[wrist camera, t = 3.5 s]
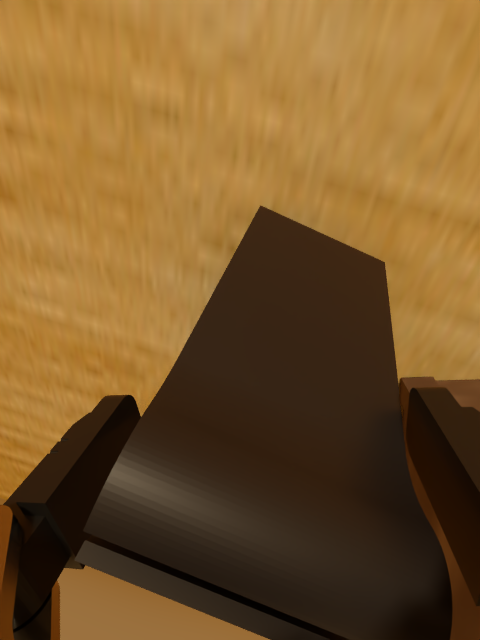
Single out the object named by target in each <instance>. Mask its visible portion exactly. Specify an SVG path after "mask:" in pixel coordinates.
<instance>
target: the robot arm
mask: <svg viewBox="0 0 480 640" xmlns="http://www.w3.org/2000/svg"><path fill="white" fill-rule="evenodd" d="M140 418H141V416H140V413H139V410H138V407H137V404H136V401H135V399H134V397H133V396H131V395H110V396H105V397H104V398H103V399H102V400H101V401H100V402H99V403H98V405H97V406H96V407H95V408H94V409H93V411H92V412H91V413H88V414H87V415H85V416H84V417H83V418H81V419H80V420H79V421H77V422H76V423H75V424H73V425H72V426H71V428H70V429H69V430H68V431H67V432H66V433H65V434H64V436H63V437H62V438H61V441H60V442H57V444H56V445H55V446H54V447H53V448H52V449H51V452H50V454H47V455H46V456H45V457H44V459H43V460H42V461H41V462H40V463H39V464H38V465H37V467H36V468H35V469H34V470H33V471H32V472H31V473H30V475H29V476H28V477H27V478H26V479H25V480H24V481H23V483H22V484H21V485H20V486H19V487H18V488H17V489H16V491H15V492H14V493H13V494H12V495H11V496H10V497H9V499H8V500H7V501H6V502H5V503H4V504H3V505H0V640H60V586H59V583H58V581H57V579H58V577H59V576H60V574H61V572H62V570H63V569H64V568H73V569H83V568H84V567H85V565H84V564H82V563H79V562H77V561H74V560H75V558H76V556H77V554H78V552H79V550H80V549H81V547H82V545H83V543H84V541H85V540H88V539H89V538H90V536H91V534H89V533H86V532H84V531H83V530H84V528H85V525H86V523H87V521H88V518H89V516H90V514H91V512H92V510H93V507H94V505H95V503H96V501H97V499H98V497H99V495H100V493H101V491H102V489H103V486H104V484H105V482H106V480H107V478H108V476H109V475H110V473H111V471H112V469H113V467H114V465H115V463H116V461H117V459H118V457H119V455H120V453H121V452H122V450H123V448H124V446H125V444H126V443H127V441H128V439H129V437H130V435H131V434H132V432H133V430H134V428H135V427H136V425H137V423H138V422H139V420H140ZM406 442H407V447H408V451H409V455H410V457H411V460H412V462H413V464H414V466H415V469H416V471H417V473H418V475H419V478H420V480H421V482H422V484H423V487H424V489H425V491H426V494H427V496H428V498H429V500H430V503H431V505H432V507H433V509H434V512H435V514H436V516H437V518H438V521H439V523H440V525H441V528H442V530H443V532H444V534H445V537H446V539H447V541H448V543H449V546H450V548H451V550H452V552H453V555H454V557H455V559H456V562H457V564H458V566H459V568H460V571H461V573H462V575H463V577H464V580H465V582H466V584H467V587H468V589H469V591H470V593H471V596H472V598H473V600H474V602H475V605H476V606H480V412H479V411H478V410H476V409H475V408H473V407H461V406H460V405H459V403H458V402H457V401H456V399H455V398H454V397H453V395H452V394H451V393H450V391H449V390H448V389H447V388H445V387H418V388H412V389H411V390H410V393H409V403H408V414H407V424H406Z"/></svg>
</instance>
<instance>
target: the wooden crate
mask: <svg viewBox="0 0 480 640" xmlns="http://www.w3.org/2000/svg"><path fill="white" fill-rule="evenodd" d="M418 387H445V388H447V389H448V390H449V391H450V393H451V394H452V395H453V397H454V398H455V399H456V401H457V402H458V403H459V405H460V406H461V407H473V408H475V409H476V410H478V411H479V412H480V380H447V381H435V379H434V378H433V377H412V378H401V387H400V403H401V405H402V407H403V409H404V412H403V432H404V441H405V450H406V458H407V464H408V469H409V473H410V478H411V481H412V485H413V488H414V490H415V493H416V496H417V498H418V501H419V503H420V505H421V508H422V510H423V512H424V514H425V516H426V518H427V519H428V521H429V523H430V525H431V526H432V528H433V530H434V532H435V534H436V535H437V538H438V540H439V542H440V545H441V547H442V550H443V553H444V556H445V559H446V563H447V567H448V571H449V576H450V582H451V590H452V607H453V612H452V628H451V636H450V640H480V606H476V605H475V602H474V600H473V598H472V596H471V593H470V591H469V589H468V587H467V584H466V582H465V580H464V577H463V575H462V573H461V571H460V568H459V566H458V564H457V562H456V559H455V557H454V555H453V552H452V550H451V548H450V546H449V543H448V541H447V539H446V537H445V534H444V532H443V530H442V528H441V525H440V523H439V521H438V518H437V516H436V514H435V512H434V509H433V507H432V505H431V503H430V500H429V498H428V496H427V494H426V491H425V489H424V487H423V484H422V482H421V480H420V478H419V475H418V473H417V471H416V469H415V466H414V464H413V462H412V460H411V457H410V455H409V451H408V447H407V442H406V424H407V414H408V403H409V393H410V390H411V389H412V388H418Z"/></svg>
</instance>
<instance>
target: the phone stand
mask: <svg viewBox="0 0 480 640" xmlns="http://www.w3.org/2000/svg"><path fill="white" fill-rule="evenodd" d="M83 531H84V532H86V533H89V534H91V536H90V538H89V539H88V540H85V541H84V543H83V545H82V547H81V549H80V550H79V552H78V554H77V556H76V558H75V560H74V561H77V562H79V563H82V564H84V565H87V566H89V567H92V568H94V569H97V570H99V571H102V572H104V573H107V574H109V575H112V576H114V577H117V578H119V579H122V580H124V581H126V582H129V583H131V584H134V585H136V586H139V587H141V588H144V589H146V590H149V591H151V592H154V593H156V594H159V595H161V596H164V597H166V598H169V599H172V600H174V601H176V602H179V603H181V604H184V605H186V606H188V607H191V608H194V609H196V610H198V611H201V612H204V613H206V614H209V615H211V616H213V617H216V618H218V619H221V620H223V621H226V622H228V623H231V624H233V625H236V626H238V627H241V628H243V629H246V630H248V631H251V632H253V633H256V634H258V635H260V636H263V637H265V638H268V639H270V640H450V636H451V628H452V612H453V607H452V590H451V582H450V576H449V571H448V567H447V563H446V559H445V556H444V553H443V550H442V547H441V545H440V542H439V540H438V538H437V535H436V534H435V532H434V530H433V528H432V526H431V525H430V523H429V521H428V519H427V518H426V516H425V514H424V512H423V510H422V508H421V505H420V503H419V501H418V498H417V496H416V493H415V490H414V488H413V485H412V481H411V478H410V473H409V469H408V464H407V458H406V450H405V441H404V432H403V423H402V414H401V405H400V396H399V387H398V378H397V369H396V360H395V351H394V342H393V333H392V324H391V315H390V306H389V297H388V288H387V279H386V270H385V262H383V261H381V260H379V259H376V258H374V257H372V256H370V255H368V254H366V253H363V252H361V251H359V250H357V249H355V248H352V247H350V246H348V245H346V244H344V243H341V242H339V241H337V240H335V239H333V238H331V237H328V236H326V235H324V234H322V233H320V232H317V231H315V230H313V229H311V228H309V227H307V226H304V225H302V224H300V223H298V222H296V221H293V220H291V219H289V218H287V217H285V216H282V215H280V214H278V213H276V212H274V211H272V210H269V209H267V208H265V207H263V206H260V207H259V209H258V211H257V213H256V215H255V217H254V218H253V220H252V222H251V224H250V226H249V228H248V229H247V231H246V233H245V235H244V237H243V239H242V241H241V242H240V244H239V246H238V248H237V250H236V252H235V253H234V255H233V257H232V259H231V261H230V263H229V265H228V266H227V268H226V270H225V272H224V274H223V276H222V278H221V279H220V281H219V283H218V285H217V287H216V289H215V290H214V292H213V294H212V296H211V298H210V300H209V302H208V303H207V305H206V307H205V309H204V311H203V313H202V314H201V316H200V318H199V320H198V322H197V324H196V326H195V327H194V329H193V331H192V333H191V335H190V337H189V338H188V340H187V342H186V344H185V346H184V348H183V350H182V351H181V353H180V355H179V357H178V359H177V361H176V362H175V364H174V366H173V368H172V369H171V371H170V373H169V375H168V376H167V378H166V380H165V381H164V383H163V385H162V386H161V388H160V390H159V391H158V393H157V394H156V396H155V397H154V399H153V400H152V402H151V403H150V405H149V406H148V408H147V409H146V411H145V412H144V414H143V415H142V417H141V418H140V420H139V422H138V423H137V425H136V427H135V428H134V430H133V432H132V434H131V435H130V437H129V439H128V441H127V443H126V444H125V446H124V448H123V450H122V452H121V453H120V455H119V457H118V459H117V461H116V463H115V465H114V467H113V469H112V471H111V473H110V475H109V476H108V478H107V480H106V482H105V484H104V486H103V489H102V491H101V493H100V495H99V497H98V499H97V501H96V503H95V505H94V507H93V510H92V512H91V514H90V516H89V518H88V521H87V523H86V525H85V528H84V530H83Z"/></svg>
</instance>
